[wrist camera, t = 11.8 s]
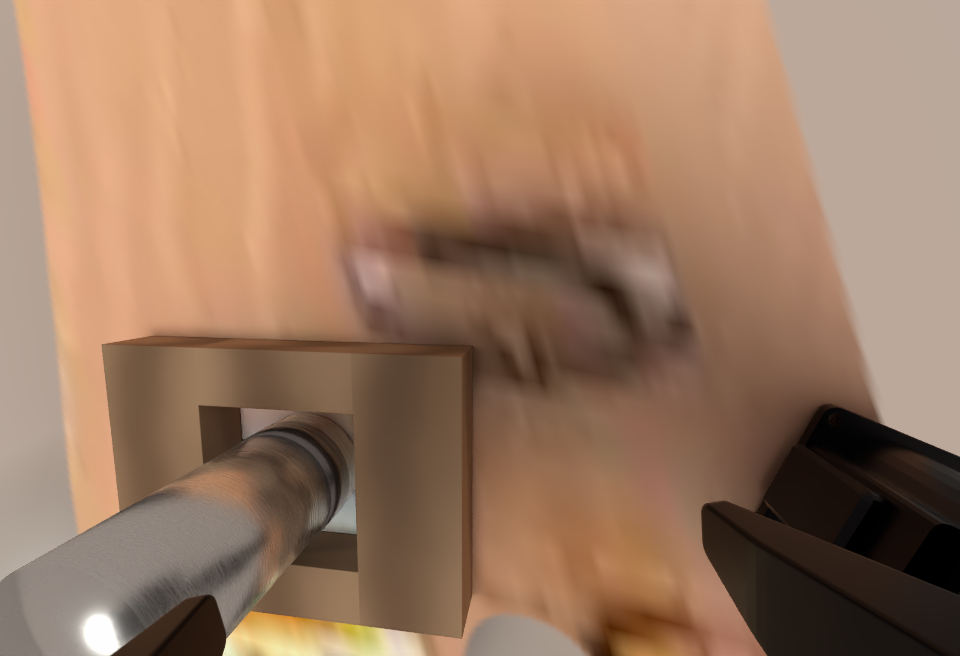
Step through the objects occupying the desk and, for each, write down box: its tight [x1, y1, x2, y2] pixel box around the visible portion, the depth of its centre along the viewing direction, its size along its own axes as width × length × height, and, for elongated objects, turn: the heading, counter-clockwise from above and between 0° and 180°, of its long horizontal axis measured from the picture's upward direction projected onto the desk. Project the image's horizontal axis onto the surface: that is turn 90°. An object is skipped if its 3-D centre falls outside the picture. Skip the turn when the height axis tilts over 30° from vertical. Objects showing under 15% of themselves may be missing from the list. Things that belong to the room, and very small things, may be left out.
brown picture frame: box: [102, 336, 473, 639], centre depth 20 cm, size 16×12×2 cm
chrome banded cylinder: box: [0, 413, 355, 656], centre depth 16 cm, size 5×5×11 cm
